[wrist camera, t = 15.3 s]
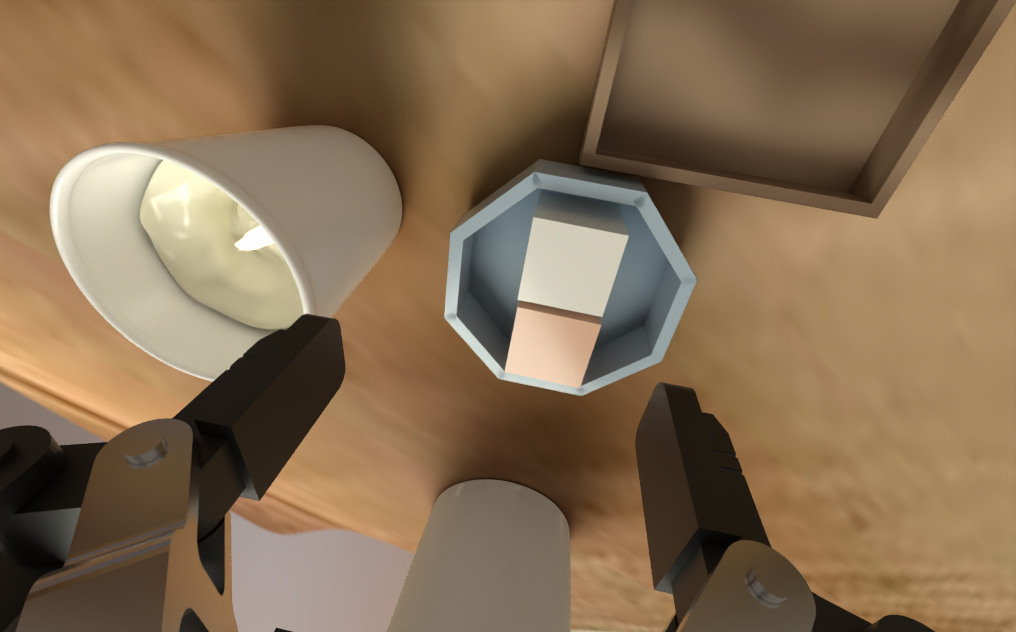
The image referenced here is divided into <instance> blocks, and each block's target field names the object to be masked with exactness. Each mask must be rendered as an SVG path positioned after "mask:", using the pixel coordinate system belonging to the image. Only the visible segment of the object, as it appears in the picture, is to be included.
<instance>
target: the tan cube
mask: <svg viewBox="0 0 1016 632" xmlns="http://www.w3.org/2000/svg"><path fill="white" fill-rule="evenodd" d="M600 328H601V317H599V316H595V315H590V314H585V313H580V312H575V311H570V310H565V309H560V308H556V307H551V306H546V305H541V304H536V303H531V302H526V301H521V300H519V304H518V308H517V313H516V318H515V323H514V328H513V332H512V337H511V342H510V347H509V352H508V357H507V362H506V367H505V372H508V373H512V374H517V375H521V376H526V377H531V378H535V379H540V380H544V381H549V382H553V383H558V384H563V385H567V386H572V387H576V388H580V386H581V384H582V381H583V378H584V375H585V372H586V369H587V366H588V363H589V360H590V357H591V354H592V351H593V348H594V345H595V342H596V339H597V337H598V334H599V331H600Z"/></svg>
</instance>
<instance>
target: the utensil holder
mask: <svg viewBox="0 0 1016 632" xmlns="http://www.w3.org/2000/svg"><path fill="white" fill-rule="evenodd" d="M570 615H571V569H570V531H569V526H568V523H567V520H566V518H565V516H564V515H563V513H562V512H561V511H560V509H559V508H558V507H557V506H556V505H555V504H554V503H553V502H552V501H550V500H549V499H548V498H546V497H545V496H543V495H542V494H540V493H538V492H536V491H534V490H532V489H530V488H528V487H525V486H522V485H519V484H516V483H512V482H507V481H502V480H493V479H479V480H471V481H466V482H462V483H459V484H456V485H454V486H452V487H450V488H448V489H446V490H445V491H444V492H443V493H442V494H441V495H440V496H439V497H438V498H437V500H436V502H435V504H434V506H433V509H432V511H431V514H430V516H429V519H428V522H427V524H426V527H425V530H424V532H423V535H422V538H421V540H420V543H419V545H418V548H417V551H416V553H415V556H414V559H413V561H412V564H411V566H410V569H409V572H408V575H407V578H406V580H405V583H404V586H403V589H402V592H401V594H400V597H399V600H398V603H397V605H396V608H395V611H394V614H393V617H392V619H391V622H390V625H389V627H388V630H387V632H570Z"/></svg>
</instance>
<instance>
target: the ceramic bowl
mask: <svg viewBox="0 0 1016 632" xmlns="http://www.w3.org/2000/svg"><path fill="white" fill-rule="evenodd" d="M540 192H542V193H548V194H553V195H558V196H563V197H568V198H573V199H578V200H584V201H589V202H594V203H599V204H604V205H609V206H614V207H620V209H621V212H622V215H623V218H624V222H625V225H626V228H627V231H628V235H629V237H628V240H627V243H626V246H625V249H624V252H623V255H622V259H621V262H620V265H619V268H618V271H617V274H616V277H615V280H614V283H613V286H612V289H611V292H610V295H609V298H608V301H607V304H606V307H605V310H604V313H603V317H601V328H600V331H599V334H598V337H597V339H596V342H595V345H594V348H593V351H592V354H591V357H590V360H589V363H588V366H587V369H586V372H585V375H584V378H583V381H582V384H581V386H580V388H576V387H572V386H567V385H563V384H558V383H553V382H549V381H544V380H540V379H535V378H531V377H526V376H521V375H517V374H512V373H508V372H505V367H506V362H507V357H508V352H509V347H510V342H511V337H512V332H513V328H514V323H515V318H516V313H517V308H518V304H519V300H517V299H518V294H519V289H520V284H521V279H522V273H523V268H524V263H525V258H526V252H527V247H528V242H529V237H530V232H531V226H532V221H533V216H534V213H535V209H536V206H537V202H538V199H539V195H540ZM696 281H697V278H696V276H695V274H694V272H693V271H692V269H691V267H690V265H689V264H688V262H687V260H686V258H685V257H684V255H683V254H682V252H681V250H680V249H679V247H678V245H677V243H676V242H675V240H674V238H673V236H672V235H671V233H670V231H669V229H668V228H667V226H666V224H665V222H664V221H663V219H662V217H661V215H660V214H659V212H658V210H657V208H656V207H655V205H654V203H653V201H652V200H651V198H650V196H649V194H648V192H647V190H646V188H645V187H644V185H643V183H642V181H641V180H640V178H639V177H636V176H631V175H625V174H620V173H614V172H609V171H603V170H598V169H592V168H587V167H581V166H576V165H570V164H565V163H559V162H554V161H548V160H543V159H539V160H537V161H536V162H535V163H533V164H532V165H531V166H529V167H528V168H526V169H525V170H524V171H522V172H521V173H520V174H518V175H517V176H516V177H514V178H513V179H512V180H510V181H509V182H507V183H506V184H505V185H503V186H502V187H501V188H499V189H498V190H497V191H495V192H494V193H493V194H491V195H490V196H488V197H487V198H486V199H484V200H483V201H482V202H480V203H479V204H478V205H476V206H475V207H474V208H472V209H471V210H469V211H468V212H467V213H465V214H464V215H463V216H462V218H461V219H460V220H459V222H458V223H457V224H456V226H455V227H454V228H453V230H452V231H451V234H450V248H449V261H448V275H447V289H446V303H445V316H444V318H445V319H446V320H447V321H448V322H449V324H450V325H451V326H452V327H453V328H454V329H455V330H456V331H457V333H458V334H459V335H460V336H461V337H462V338H463V339H464V340H465V342H466V343H467V344H468V345H469V346H470V347H471V348H472V349H473V351H474V352H475V353H476V354H477V355H478V356H479V357H480V358H481V360H482V361H483V362H484V363H485V364H486V365H487V366H488V368H489V369H490V370H491V371H492V372H493V373H494V374H495V375H496V377H497V378H498V379H502V380H507V381H511V382H516V383H521V384H526V385H531V386H536V387H540V388H545V389H550V390H555V391H560V392H565V393H570V394H574V395H579V396H583V395H585V394H587V393H589V392H592V391H594V390H596V389H599V388H601V387H603V386H606V385H608V384H610V383H613V382H615V381H617V380H620V379H622V378H624V377H627V376H629V375H631V374H633V373H636V372H638V371H640V370H643V369H645V368H647V367H650V366H652V365H654V364H657V363H659V362H661V361H662V359H663V357H664V355H665V352H666V350H667V348H668V345H669V343H670V341H671V339H672V336H673V334H674V332H675V329H676V327H677V325H678V323H679V320H680V318H681V316H682V313H683V311H684V309H685V307H686V304H687V302H688V300H689V297H690V295H691V293H692V291H693V288H694V286H695V284H696Z"/></svg>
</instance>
